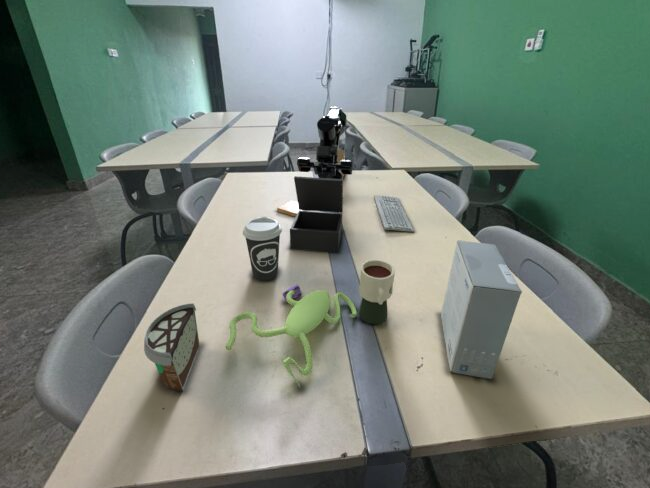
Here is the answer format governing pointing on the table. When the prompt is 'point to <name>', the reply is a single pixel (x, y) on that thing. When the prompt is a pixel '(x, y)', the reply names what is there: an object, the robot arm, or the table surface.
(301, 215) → the open black box
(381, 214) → the keyboard
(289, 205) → the toast
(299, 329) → the figurine
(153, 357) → the food container
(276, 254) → the coffee cup
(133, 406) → the table surface
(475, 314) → the hard drive box
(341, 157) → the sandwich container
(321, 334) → the table surface
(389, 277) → the character mug
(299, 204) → the lid
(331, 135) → the robot arm
